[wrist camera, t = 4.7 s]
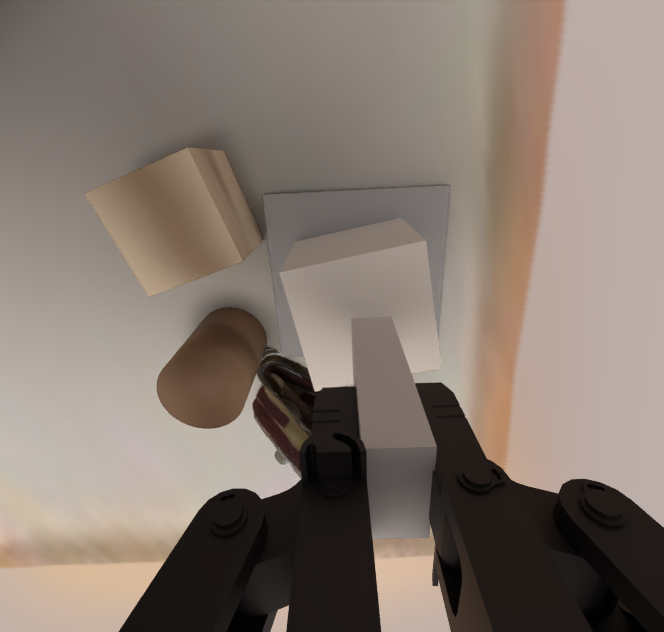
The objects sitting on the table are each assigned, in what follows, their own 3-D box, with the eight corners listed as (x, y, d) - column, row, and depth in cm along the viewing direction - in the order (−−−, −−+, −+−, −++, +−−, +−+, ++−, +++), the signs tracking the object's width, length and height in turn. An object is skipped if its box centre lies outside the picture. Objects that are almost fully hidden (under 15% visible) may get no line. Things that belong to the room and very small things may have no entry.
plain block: (320, 334, 22) (314, 391, 17) (294, 241, 20) (279, 272, 15) (414, 315, 22) (441, 368, 16) (400, 217, 19) (426, 240, 14)
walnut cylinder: (206, 368, 24) (168, 430, 19) (192, 309, 22) (146, 358, 17) (270, 365, 24) (251, 426, 19) (261, 305, 22) (237, 353, 17)
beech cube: (188, 268, 21) (148, 297, 17) (143, 185, 20) (84, 193, 15) (263, 238, 21) (243, 261, 16) (223, 150, 19) (187, 147, 14)
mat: (283, 352, 24) (282, 357, 23) (264, 194, 20) (262, 195, 19) (434, 346, 23) (437, 351, 23) (447, 184, 19) (450, 185, 19)
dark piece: (215, 406, 26) (286, 581, 21) (246, 351, 22) (343, 554, 17) (314, 378, 33) (387, 508, 28) (353, 331, 28) (447, 474, 23)
